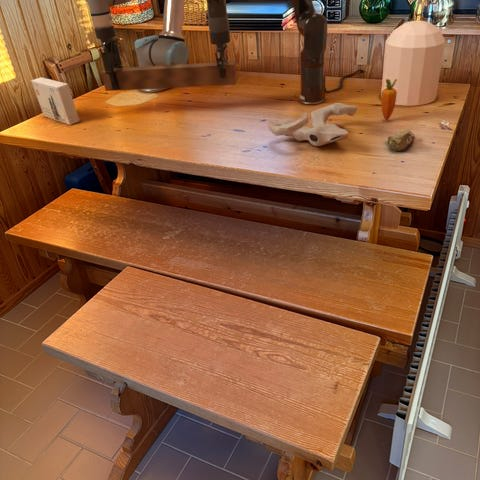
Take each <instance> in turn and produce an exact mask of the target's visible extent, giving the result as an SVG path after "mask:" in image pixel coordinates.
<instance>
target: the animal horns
mask: <svg viewBox="0 0 480 480" xmlns="http://www.w3.org/2000/svg"><path fill="white" fill-rule="evenodd" d="M357 111H358V107H357V106H356V105H354V104H353V105H352V104H346V103H340V102H335V103H331V104H329V105H326V106H322V107H321V108H317V109H315V110H312V111H311V112H310V115H309V114H308V112H304V113H302V114H301V116H300V117H299V118H298V119H297V120H295V119H294V118H293V117H287V118H282V119H278V120H273V121H269V122H268V123H267V127H268V129H269V131H270V132H271V133H272V134H273V135H274V136H285V137H292V138H294V139H295V140H296V141H308V142H309V144H310V145H312V146H313V147H322V146H325V145H328V144H332V143H334V142H336V141H339V140H343V139H345V138H347V137H348V135H349V133H348V131H347V130H346V129H344V128H340V127H339V125H336V124H334V123H331V122H330V123H327V121H328V119H329V117H331V116H343V115H347V116H351V117H354V116H355V114H356V113H357ZM309 116H310V119H309ZM309 120H310V121H311V125H312V126H311V127H310V126H306V125H308V124H309Z"/></svg>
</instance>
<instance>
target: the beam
mask: <svg viewBox="0 0 480 480" xmlns="http://www.w3.org/2000/svg"><path fill="white" fill-rule="evenodd" d="M220 64H222V62H220ZM100 73H101V78H102V81H103V85H104V91H105V92H111V91H113V92H114V91H115V90H113V89H112V85H111V81H110V77H109V74H106V72H105V69H103V70H101V72H100ZM114 73H116V76H117V81H118V85H119V89H118V90H117V91H131V90H132V91H133V90H140V89H154V88H169V89H171V88H172V89H173V88H191V87H192V88H193V87H210V86H211V87H212V86H230V85H231V86H232V85H233V86H234V85H236V84H237V82H238V74H237V73H238V72H237V62H236V61H235V60H232V61H228V62H225V73H226V77H225V78H220V72H219V68H217V62H216V61H215V62H201V63H200V62H199V63H186V64H179V65H162V66H145V67H139V66H131V67H130V66H129V67H128V66H127V67H122V68H114Z"/></svg>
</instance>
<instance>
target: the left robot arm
mask: <svg viewBox="0 0 480 480" xmlns="http://www.w3.org/2000/svg"><path fill="white" fill-rule="evenodd" d="M84 1H85V2H86V3H87V6H88V10H89V14H90V18H91V19H90V20H91V22H92V27H94V29H93V30H94V34H95V38H96V39H98V40H100V44H101V46H100V47H98V50H99V52H100V55H101V60H102V63H103V68H104V70H105V72H106V74H109V77H110V81H111V85H112V89H113V90H114V91H119V90H118V89H119V85H118V81H117V76H116V73H114V68H123V63H122V59H121V54H120V50H119V47H118V40H117V39H114V38H115V37H116V35H117V34H116V29H115V26H114V21H113V19H114V17H113V16H112V12H111V8H112V7H115V6H120V5H125V4H127V3H130V2H131V1H132V0H84ZM185 2H186V0H164V6H163V17H162V29H161V32H160V33H158V35H157V34H156V35H149V36H145V37H141V38H138V39H136V40H135V41H134V50H135V55H136V59H137V64H138V67H145V66H162V65H179V64H188V63H187V62H188V61H189V56H190V50H189V48H188V45H187V44H186V43H185V41H186V39H185V37H184V35H183V25H184V13H185ZM169 89H170V88H154V89H139V91H140V92H141V93H146V94H152V93H160V92H165V91H166V90H169Z"/></svg>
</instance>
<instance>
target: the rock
mask: <svg viewBox="0 0 480 480" xmlns="http://www.w3.org/2000/svg"><path fill="white" fill-rule="evenodd" d="M415 139H416V135H415V134H414V132H412V131H411V130H408V129H407V130H404V131H398V132H396V133H394V134H393V135H392V134H391V135H389V136H388V137H387V143H388V145H387V146H388V147H389V149H391V150H392V151H395V152H404V151H406V150H407V148H409V145H410V144H411V143H412V142H413V141H414V140H415Z"/></svg>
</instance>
